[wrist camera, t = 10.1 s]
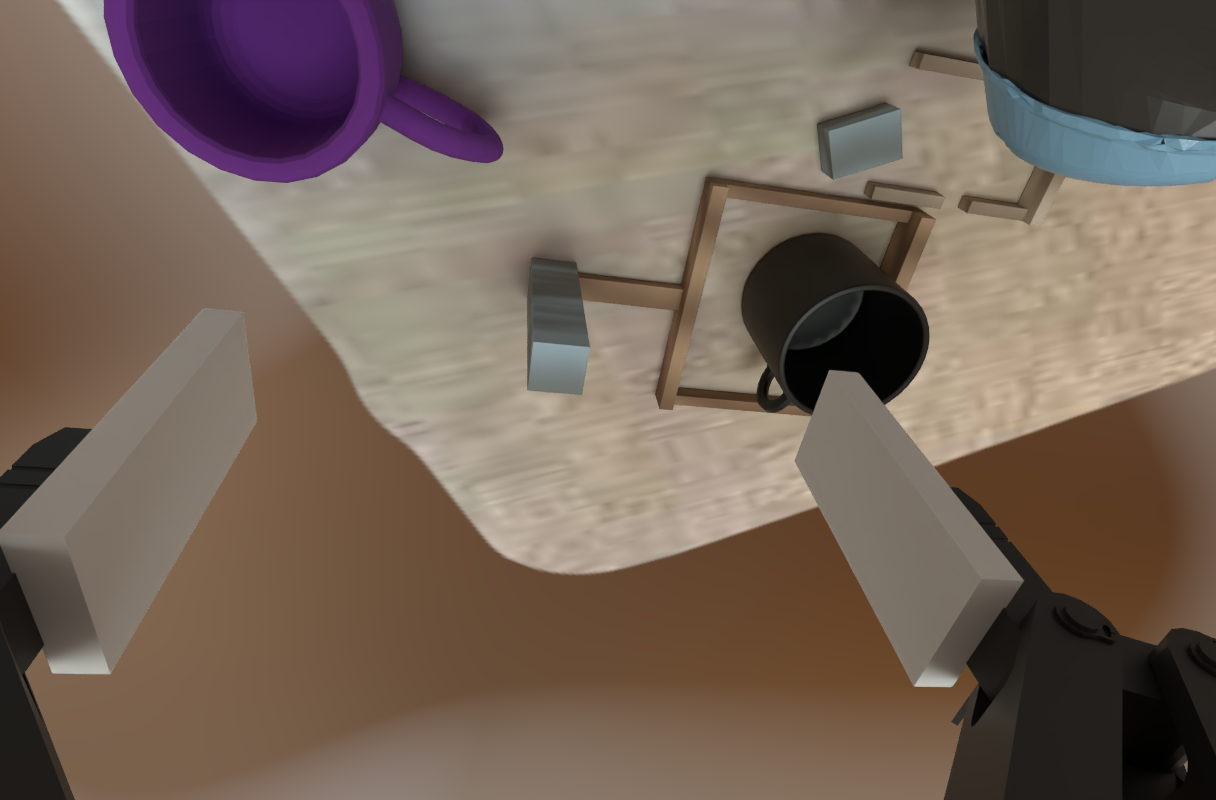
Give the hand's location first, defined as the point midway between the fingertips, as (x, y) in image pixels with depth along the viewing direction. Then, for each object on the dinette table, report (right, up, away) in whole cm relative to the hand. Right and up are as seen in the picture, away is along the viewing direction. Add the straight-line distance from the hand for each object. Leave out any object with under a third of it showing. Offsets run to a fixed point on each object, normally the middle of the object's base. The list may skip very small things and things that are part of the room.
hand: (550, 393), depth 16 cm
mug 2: (+15, +7, +35) cm, 38 cm away
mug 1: (-13, +19, +23) cm, 33 cm away
